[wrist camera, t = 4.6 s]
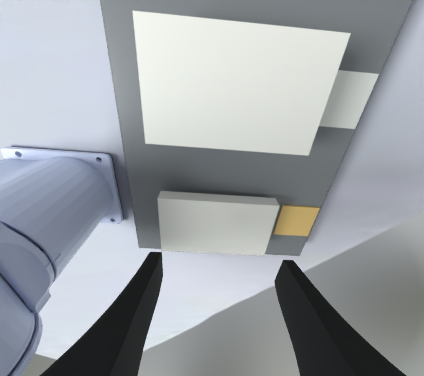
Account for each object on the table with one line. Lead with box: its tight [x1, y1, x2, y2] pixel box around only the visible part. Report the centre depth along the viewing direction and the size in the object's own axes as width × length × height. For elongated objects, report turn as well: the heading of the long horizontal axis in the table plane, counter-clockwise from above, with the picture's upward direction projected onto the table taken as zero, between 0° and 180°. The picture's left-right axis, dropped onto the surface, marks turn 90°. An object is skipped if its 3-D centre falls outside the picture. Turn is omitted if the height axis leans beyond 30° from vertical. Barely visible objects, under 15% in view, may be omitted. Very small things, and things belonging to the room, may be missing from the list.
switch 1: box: [133, 11, 351, 156], centre depth 11 cm, size 10×6×1 cm, turn 86°
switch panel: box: [100, 0, 412, 256], centre depth 14 cm, size 18×32×2 cm, turn 176°
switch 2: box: [157, 191, 279, 256], centre depth 18 cm, size 10×6×1 cm, turn 86°
